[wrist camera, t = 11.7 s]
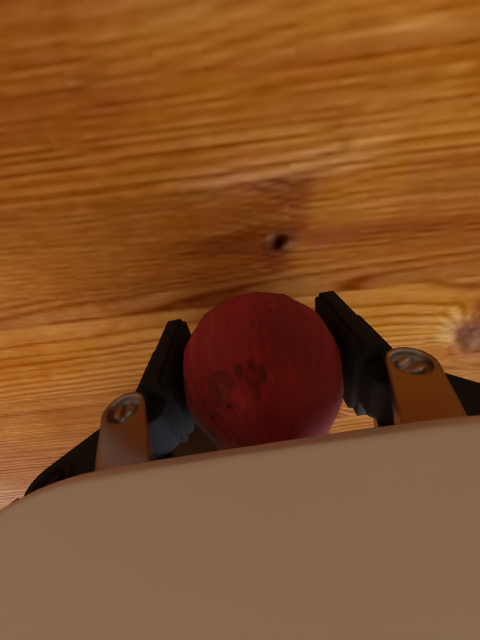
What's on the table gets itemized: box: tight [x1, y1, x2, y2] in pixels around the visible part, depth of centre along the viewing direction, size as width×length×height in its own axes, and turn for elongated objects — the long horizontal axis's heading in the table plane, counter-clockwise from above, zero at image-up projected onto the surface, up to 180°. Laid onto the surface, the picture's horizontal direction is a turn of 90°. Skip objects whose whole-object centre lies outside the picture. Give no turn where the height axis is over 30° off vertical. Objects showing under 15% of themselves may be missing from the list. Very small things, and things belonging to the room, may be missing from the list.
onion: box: [183, 292, 344, 450], centre depth 8 cm, size 6×6×8 cm
